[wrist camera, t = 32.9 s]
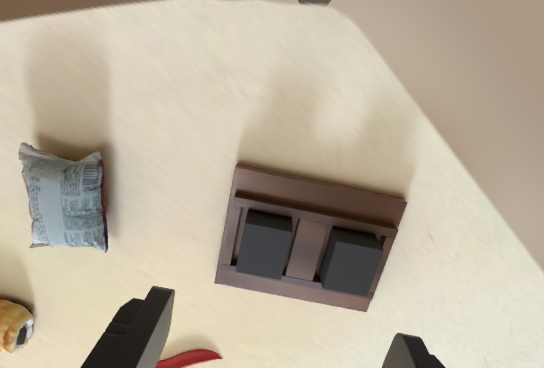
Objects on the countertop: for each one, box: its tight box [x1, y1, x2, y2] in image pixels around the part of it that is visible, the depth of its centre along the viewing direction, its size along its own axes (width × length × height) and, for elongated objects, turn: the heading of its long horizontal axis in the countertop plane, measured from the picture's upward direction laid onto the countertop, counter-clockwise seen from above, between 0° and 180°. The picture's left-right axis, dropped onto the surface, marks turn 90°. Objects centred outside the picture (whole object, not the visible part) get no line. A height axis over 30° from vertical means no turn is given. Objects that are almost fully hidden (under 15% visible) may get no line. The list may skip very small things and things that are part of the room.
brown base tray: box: [215, 164, 407, 312], centre depth 39 cm, size 15×19×2 cm
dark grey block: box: [319, 226, 384, 297], centre depth 38 cm, size 6×5×4 cm
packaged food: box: [19, 142, 108, 253], centre depth 37 cm, size 9×12×5 cm
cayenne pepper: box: [155, 350, 223, 368], centre depth 47 cm, size 12×5×2 cm, turn 86°
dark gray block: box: [235, 209, 293, 280], centre depth 37 cm, size 6×5×4 cm
